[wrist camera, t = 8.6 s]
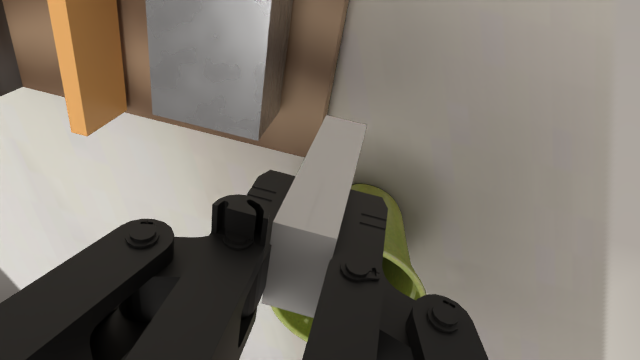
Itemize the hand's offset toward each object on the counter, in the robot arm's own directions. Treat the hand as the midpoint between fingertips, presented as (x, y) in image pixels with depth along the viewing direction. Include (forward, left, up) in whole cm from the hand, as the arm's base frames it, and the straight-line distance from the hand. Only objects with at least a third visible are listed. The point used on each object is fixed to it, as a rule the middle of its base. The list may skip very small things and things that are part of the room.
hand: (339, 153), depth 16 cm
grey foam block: (+1, +8, -9) cm, 12 cm away
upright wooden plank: (+1, +15, -9) cm, 18 cm away
